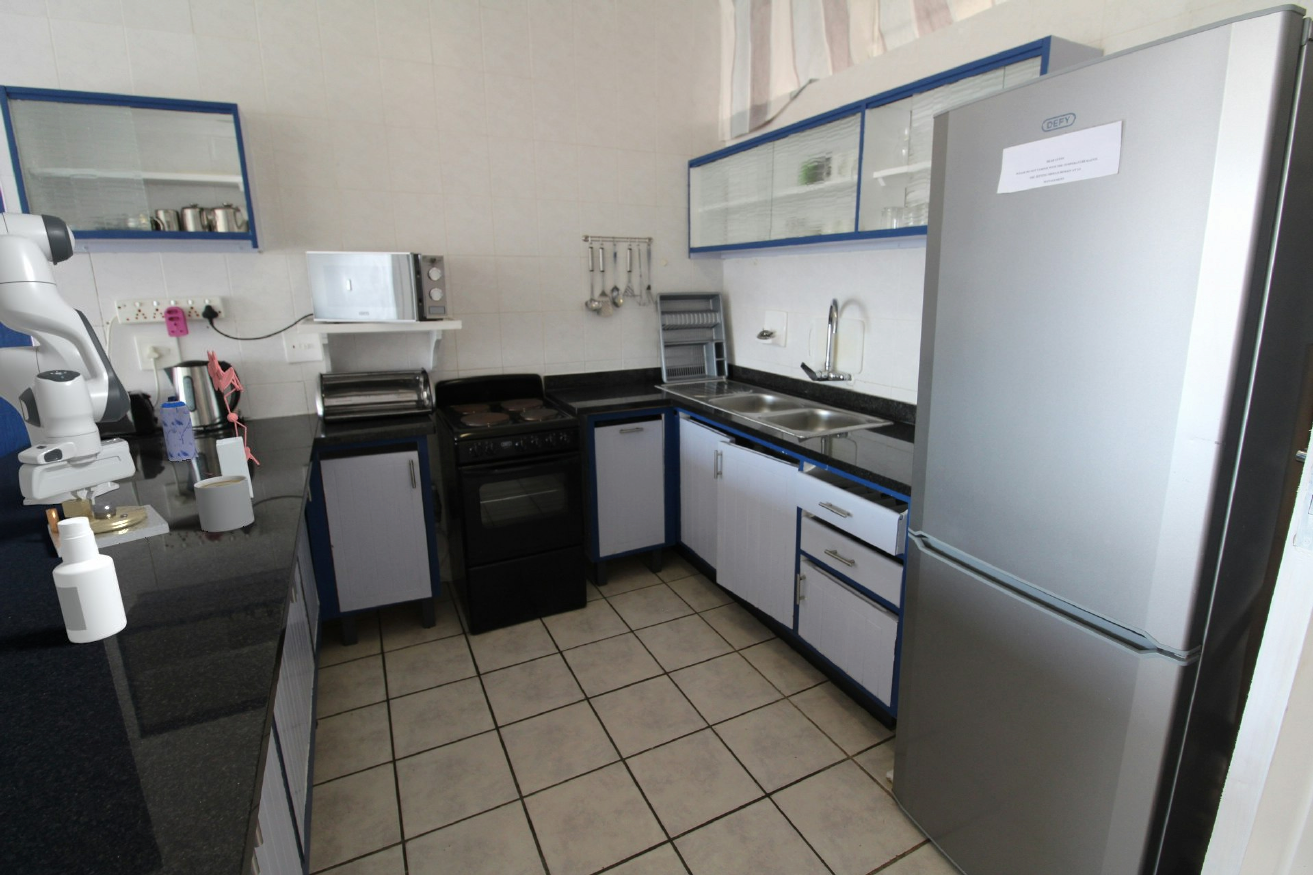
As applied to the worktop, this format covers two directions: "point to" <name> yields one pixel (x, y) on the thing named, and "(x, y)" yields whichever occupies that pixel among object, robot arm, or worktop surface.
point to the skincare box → (233, 458)
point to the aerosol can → (178, 430)
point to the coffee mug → (224, 503)
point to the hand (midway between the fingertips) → (88, 506)
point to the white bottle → (87, 585)
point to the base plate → (133, 532)
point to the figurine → (223, 382)
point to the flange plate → (117, 520)
